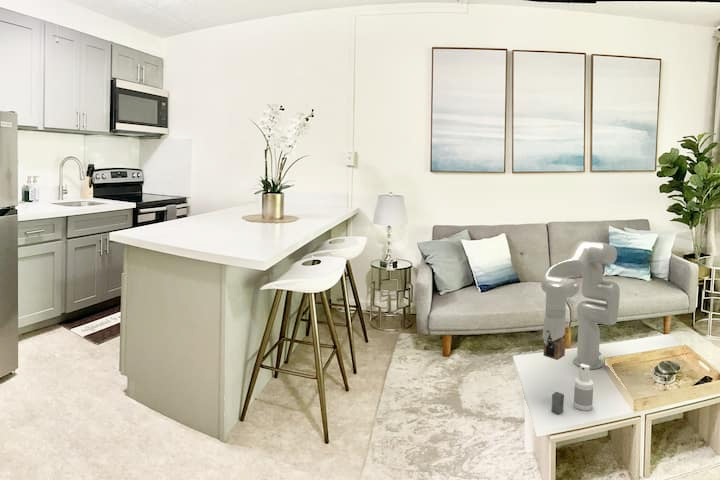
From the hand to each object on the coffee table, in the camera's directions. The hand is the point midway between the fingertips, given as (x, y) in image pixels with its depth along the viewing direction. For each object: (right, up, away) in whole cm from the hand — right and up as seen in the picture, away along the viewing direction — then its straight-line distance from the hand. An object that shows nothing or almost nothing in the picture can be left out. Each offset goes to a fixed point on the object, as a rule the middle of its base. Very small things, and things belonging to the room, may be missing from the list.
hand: (554, 353), depth 195 cm
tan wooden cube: (0, -1, 0) cm, 1 cm away
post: (-1, -22, -5) cm, 23 cm away
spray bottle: (+11, -21, -2) cm, 24 cm away
